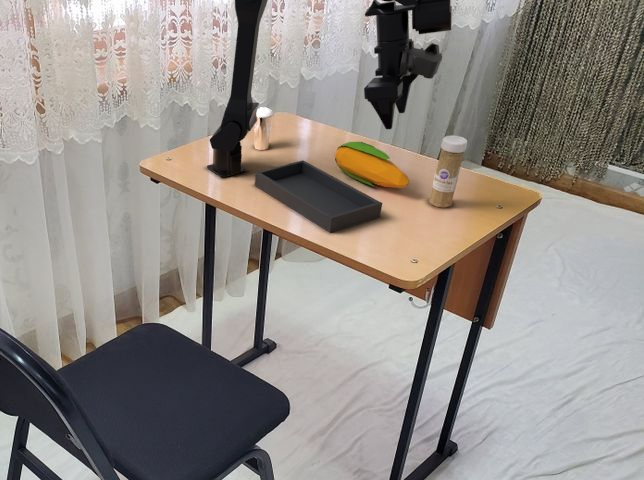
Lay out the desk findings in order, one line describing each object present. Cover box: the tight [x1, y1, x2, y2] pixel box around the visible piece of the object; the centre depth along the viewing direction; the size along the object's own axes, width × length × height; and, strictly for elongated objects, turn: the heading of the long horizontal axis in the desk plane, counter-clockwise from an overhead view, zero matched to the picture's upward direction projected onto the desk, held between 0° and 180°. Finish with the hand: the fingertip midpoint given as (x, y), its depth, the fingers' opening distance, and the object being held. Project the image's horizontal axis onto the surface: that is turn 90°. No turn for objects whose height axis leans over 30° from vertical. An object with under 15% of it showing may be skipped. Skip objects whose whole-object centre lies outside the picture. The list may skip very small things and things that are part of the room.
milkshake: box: [253, 106, 275, 151], centre depth 169 cm, size 4×5×10 cm
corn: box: [334, 141, 410, 189], centre depth 154 cm, size 7×8×20 cm
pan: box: [254, 159, 383, 233], centre depth 149 cm, size 25×13×3 cm, turn 31°
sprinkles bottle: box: [428, 135, 468, 208], centre depth 144 cm, size 5×5×14 cm
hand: (395, 120), depth 144 cm, fingers open, 9 cm apart
